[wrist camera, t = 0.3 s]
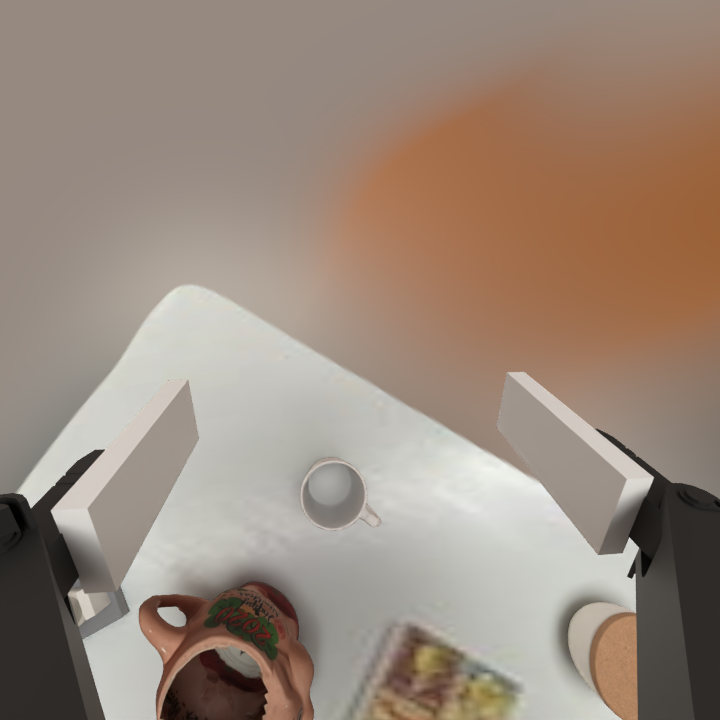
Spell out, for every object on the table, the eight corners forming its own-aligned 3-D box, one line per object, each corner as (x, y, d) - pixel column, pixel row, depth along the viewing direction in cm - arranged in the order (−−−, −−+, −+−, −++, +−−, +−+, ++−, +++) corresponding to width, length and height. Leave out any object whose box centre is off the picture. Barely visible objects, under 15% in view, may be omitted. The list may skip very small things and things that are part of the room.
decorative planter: (140, 629, 42) (58, 718, 29) (202, 530, 45) (153, 568, 32) (288, 716, 42) (274, 846, 29) (340, 610, 45) (350, 684, 32)
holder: (129, 610, 43) (54, 679, 30) (-19, 693, 39) (-169, 807, 27) (107, 554, 43) (27, 598, 31) (-39, 630, 40) (-192, 713, 28)
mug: (293, 488, 47) (286, 504, 36) (324, 445, 49) (326, 447, 37) (356, 533, 47) (369, 564, 36) (384, 488, 49) (405, 504, 37)
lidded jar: (601, 574, 50) (664, 604, 41) (641, 654, 48) (716, 704, 39) (537, 612, 48) (589, 653, 39) (576, 697, 46) (640, 761, 37)
